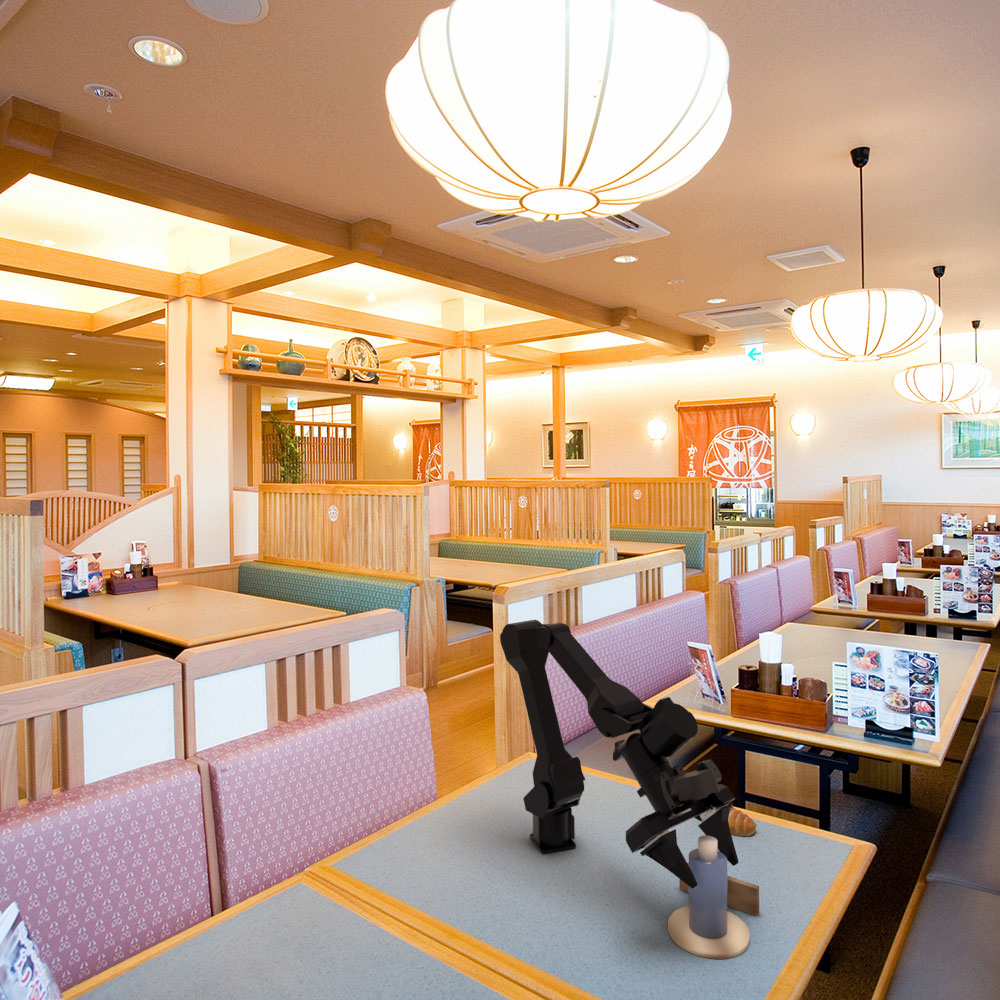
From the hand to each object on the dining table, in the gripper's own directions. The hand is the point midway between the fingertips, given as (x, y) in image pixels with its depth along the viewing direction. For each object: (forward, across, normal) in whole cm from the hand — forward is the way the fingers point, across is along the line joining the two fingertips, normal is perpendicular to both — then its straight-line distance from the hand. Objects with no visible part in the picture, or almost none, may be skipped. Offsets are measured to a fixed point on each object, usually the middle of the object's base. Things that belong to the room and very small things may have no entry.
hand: (716, 875), depth 101 cm
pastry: (-7, +29, +20) cm, 36 cm away
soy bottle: (+5, 0, +7) cm, 8 cm away
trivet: (+5, 0, +7) cm, 9 cm away
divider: (+2, +8, +10) cm, 13 cm away
